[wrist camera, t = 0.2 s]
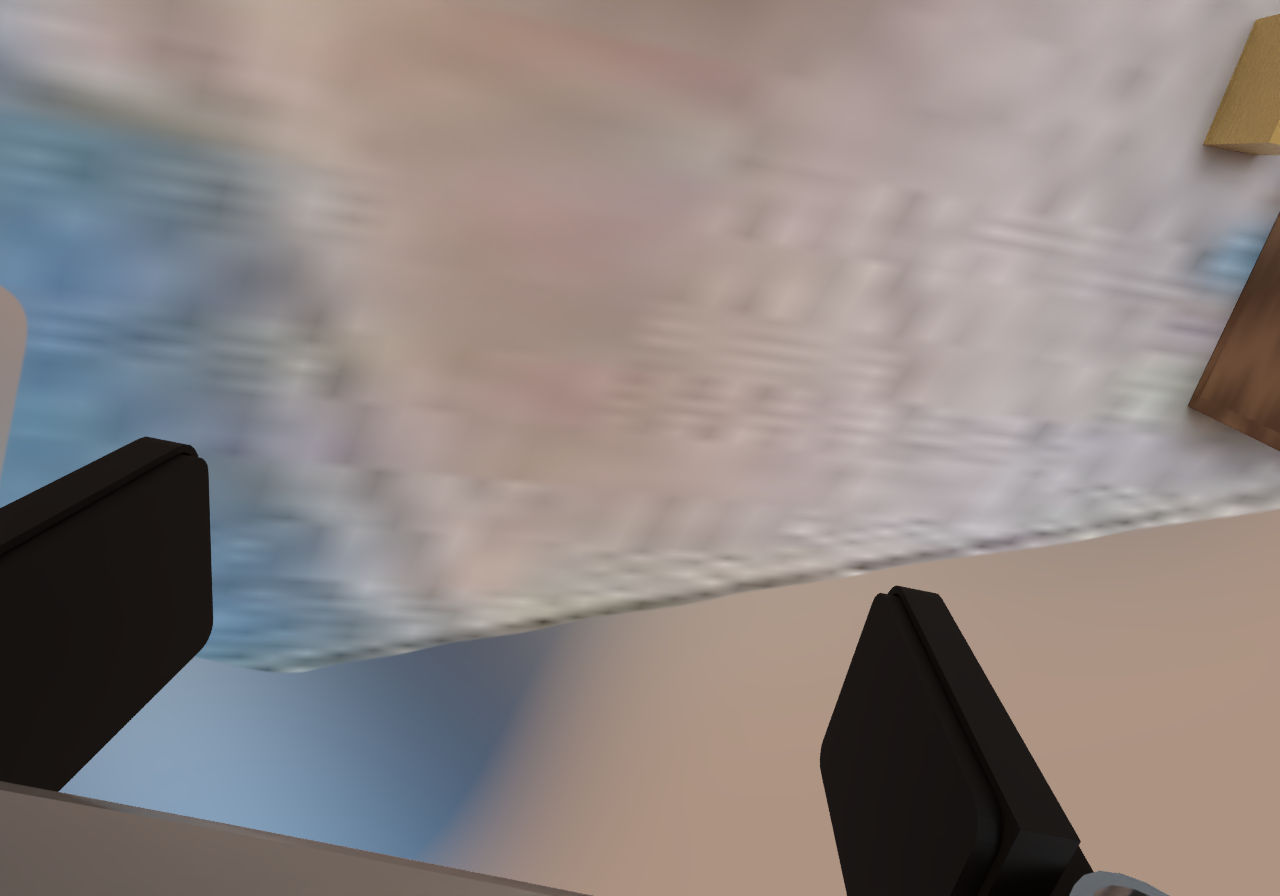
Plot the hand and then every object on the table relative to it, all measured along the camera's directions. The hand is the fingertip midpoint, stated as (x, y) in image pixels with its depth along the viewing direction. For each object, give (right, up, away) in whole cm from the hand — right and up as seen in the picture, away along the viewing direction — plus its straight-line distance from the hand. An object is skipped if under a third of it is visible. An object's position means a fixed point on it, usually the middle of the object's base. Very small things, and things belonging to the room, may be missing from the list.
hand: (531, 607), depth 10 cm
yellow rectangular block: (+34, +21, +29) cm, 49 cm away
